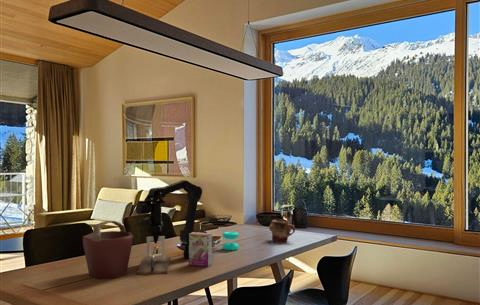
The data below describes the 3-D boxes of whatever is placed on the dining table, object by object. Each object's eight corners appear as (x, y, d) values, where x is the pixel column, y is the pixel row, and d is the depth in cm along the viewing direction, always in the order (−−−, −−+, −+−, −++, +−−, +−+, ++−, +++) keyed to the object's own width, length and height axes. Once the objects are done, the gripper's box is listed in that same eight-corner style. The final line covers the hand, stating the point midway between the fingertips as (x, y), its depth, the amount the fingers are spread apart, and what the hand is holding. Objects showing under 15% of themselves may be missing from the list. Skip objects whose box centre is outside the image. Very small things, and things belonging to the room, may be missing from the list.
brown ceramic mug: (299, 241, 290) (299, 220, 290) (291, 244, 280) (291, 222, 280) (273, 238, 301) (273, 218, 301) (264, 241, 291) (264, 220, 291)
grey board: (170, 258, 240) (170, 256, 240) (167, 273, 209) (167, 271, 209) (144, 259, 239) (144, 256, 239) (137, 274, 208) (137, 271, 208)
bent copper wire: (158, 257, 238) (158, 241, 238) (153, 271, 209) (153, 253, 209) (155, 257, 238) (155, 241, 238) (150, 271, 209) (151, 253, 209)
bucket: (102, 284, 192) (103, 226, 192) (70, 276, 203) (70, 222, 204) (142, 271, 212) (143, 220, 213) (111, 265, 224) (111, 216, 224)
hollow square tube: (164, 256, 231) (164, 235, 231) (164, 258, 226) (164, 237, 226) (147, 257, 230) (147, 236, 230) (146, 259, 225) (146, 237, 225)
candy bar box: (188, 265, 225) (188, 233, 225) (192, 263, 230) (192, 231, 230) (208, 267, 221) (208, 234, 222) (212, 265, 226) (212, 233, 226)
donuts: (221, 233, 261) (223, 231, 271) (221, 250, 261) (223, 247, 271) (238, 234, 260) (239, 231, 270) (237, 251, 260) (239, 247, 270)
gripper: (141, 210, 236) (141, 239, 236) (137, 215, 218) (137, 246, 218) (162, 210, 238) (162, 239, 238) (160, 214, 219) (160, 246, 219)
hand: (155, 242), depth 228 cm, fingers closed on hollow square tube, 3 cm apart
